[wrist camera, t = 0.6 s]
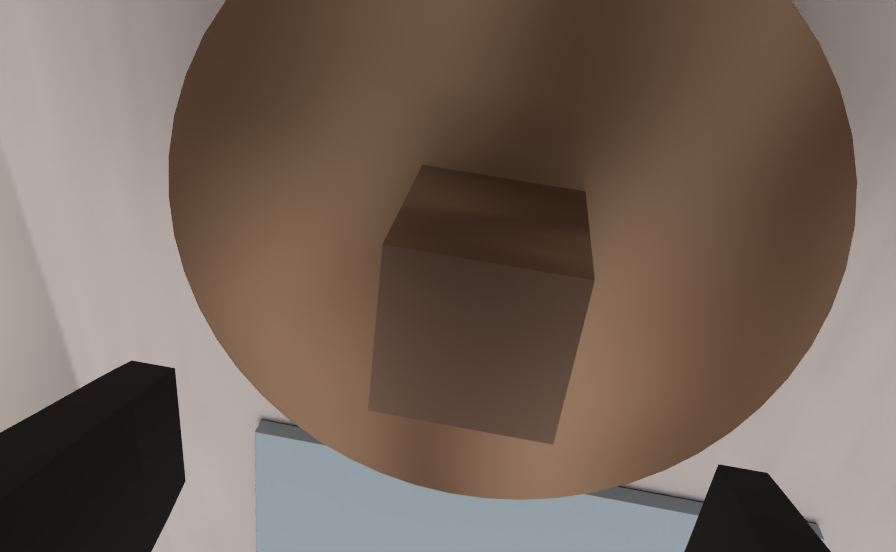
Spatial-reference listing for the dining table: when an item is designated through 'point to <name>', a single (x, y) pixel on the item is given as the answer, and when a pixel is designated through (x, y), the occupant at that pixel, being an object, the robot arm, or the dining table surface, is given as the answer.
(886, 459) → the dining table surface
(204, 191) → the lid
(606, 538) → the mat
